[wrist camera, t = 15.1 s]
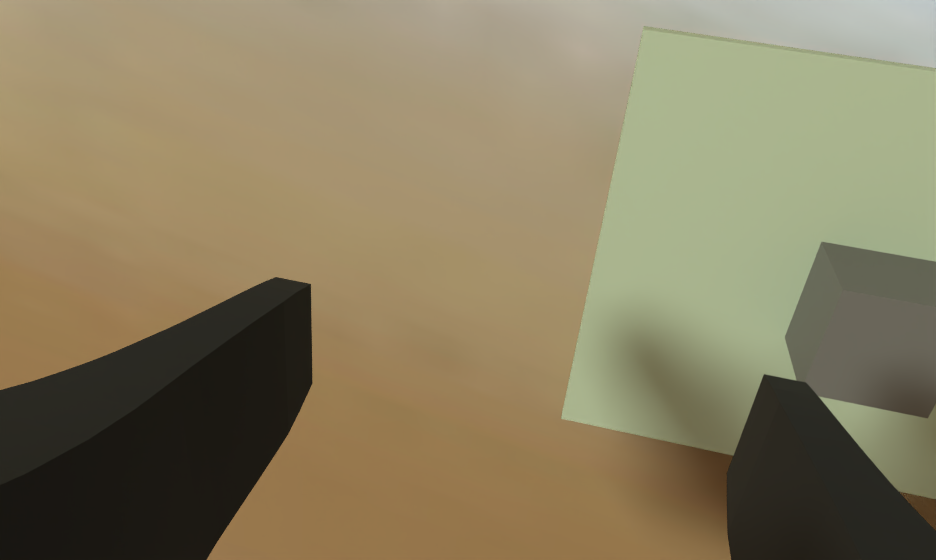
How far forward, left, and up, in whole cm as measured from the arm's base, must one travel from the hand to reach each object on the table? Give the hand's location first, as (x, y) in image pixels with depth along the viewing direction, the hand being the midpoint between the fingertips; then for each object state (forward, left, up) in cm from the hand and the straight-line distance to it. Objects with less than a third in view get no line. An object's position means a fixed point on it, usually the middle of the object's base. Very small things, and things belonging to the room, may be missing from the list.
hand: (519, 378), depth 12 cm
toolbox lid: (-2, -7, -10) cm, 12 cm away
